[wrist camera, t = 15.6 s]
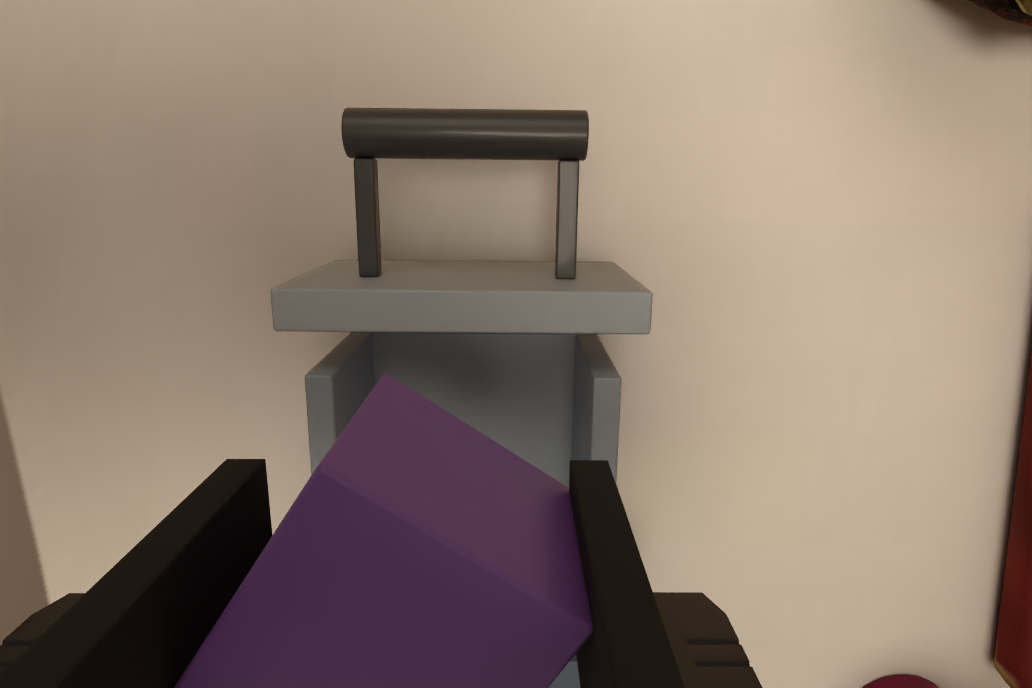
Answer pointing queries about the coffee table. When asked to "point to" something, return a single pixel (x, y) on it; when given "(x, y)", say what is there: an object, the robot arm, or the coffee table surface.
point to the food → (1009, 9)
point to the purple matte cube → (408, 567)
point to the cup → (901, 682)
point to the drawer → (471, 303)
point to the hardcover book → (1018, 570)
